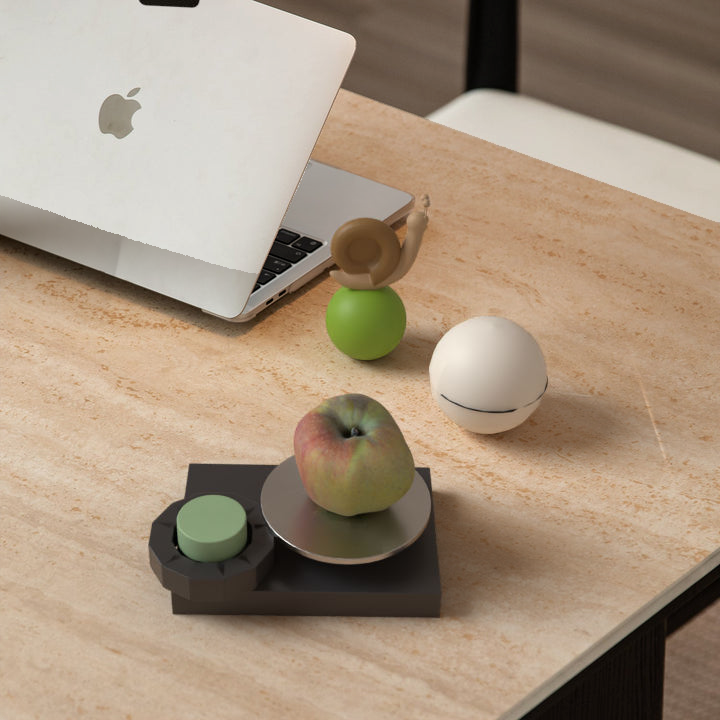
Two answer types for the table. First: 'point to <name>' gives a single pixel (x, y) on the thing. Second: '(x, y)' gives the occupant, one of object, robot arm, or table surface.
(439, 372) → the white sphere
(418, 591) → the scale
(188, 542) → the tare button
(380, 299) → the snail figurine
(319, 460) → the apple
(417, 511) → the weighing pan
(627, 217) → the table surface
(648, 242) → the table surface
